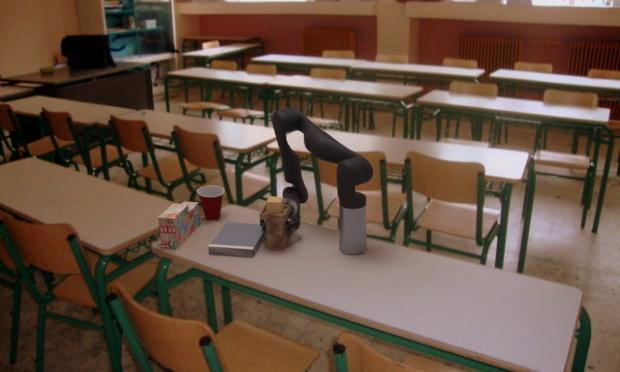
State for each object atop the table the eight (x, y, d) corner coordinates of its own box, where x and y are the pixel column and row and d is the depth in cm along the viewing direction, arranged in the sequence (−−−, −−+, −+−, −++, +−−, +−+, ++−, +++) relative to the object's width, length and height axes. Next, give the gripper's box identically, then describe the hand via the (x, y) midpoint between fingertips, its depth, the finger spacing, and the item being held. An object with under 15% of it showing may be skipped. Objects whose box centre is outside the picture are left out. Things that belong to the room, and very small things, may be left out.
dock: (267, 231, 209) (267, 224, 208) (253, 257, 191) (252, 249, 190) (227, 229, 212) (226, 221, 211) (209, 254, 194) (208, 246, 193)
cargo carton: (284, 210, 196) (283, 197, 195) (280, 215, 192) (280, 202, 190) (270, 209, 197) (269, 196, 195) (266, 215, 193) (266, 201, 191)
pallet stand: (292, 240, 202) (290, 205, 197) (286, 251, 194) (285, 215, 189) (268, 238, 204) (266, 203, 199) (261, 250, 196) (259, 213, 191)
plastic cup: (216, 225, 216) (214, 196, 211) (194, 220, 220) (191, 192, 216) (232, 214, 225) (230, 187, 220) (210, 210, 229) (207, 183, 225)
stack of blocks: (186, 222, 219) (183, 193, 214) (201, 224, 217) (198, 194, 213) (161, 248, 199) (157, 216, 195) (177, 249, 198) (174, 218, 194)
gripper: (267, 201, 211) (255, 219, 196) (304, 203, 208) (295, 221, 193) (268, 219, 213) (256, 238, 199) (304, 221, 211) (295, 240, 196)
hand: (275, 229), depth 196 cm, fingers open, 8 cm apart
